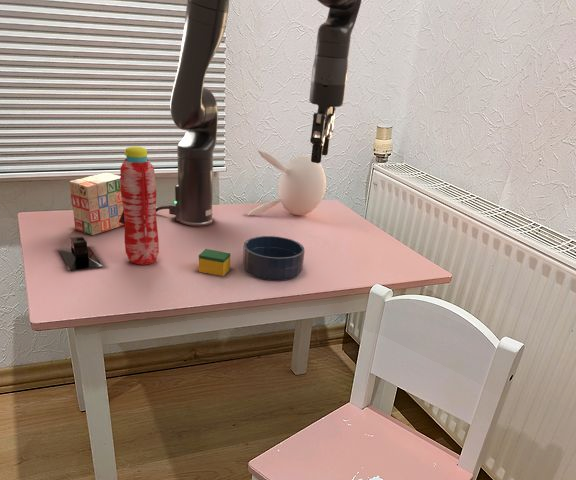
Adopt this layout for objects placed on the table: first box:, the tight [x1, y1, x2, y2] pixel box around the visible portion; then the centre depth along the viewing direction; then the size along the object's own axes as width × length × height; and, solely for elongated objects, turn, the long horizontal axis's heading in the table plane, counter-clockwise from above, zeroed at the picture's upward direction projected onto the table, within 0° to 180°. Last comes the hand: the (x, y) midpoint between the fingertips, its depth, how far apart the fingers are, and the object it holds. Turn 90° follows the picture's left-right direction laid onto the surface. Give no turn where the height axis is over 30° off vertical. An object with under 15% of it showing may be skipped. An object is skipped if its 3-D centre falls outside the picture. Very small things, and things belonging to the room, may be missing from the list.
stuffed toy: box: [246, 150, 332, 216], centre depth 168 cm, size 19×14×25 cm
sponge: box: [198, 248, 231, 277], centre depth 132 cm, size 6×4×4 cm
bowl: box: [242, 235, 306, 282], centre depth 135 cm, size 14×14×6 cm
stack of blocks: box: [69, 172, 125, 236], centre depth 150 cm, size 21×6×12 cm, turn 148°
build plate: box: [58, 236, 104, 272], centre depth 131 cm, size 12×7×5 cm, turn 29°
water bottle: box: [119, 146, 160, 266], centre depth 128 cm, size 12×8×25 cm, turn 28°
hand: (319, 158), depth 133 cm, fingers open, 8 cm apart
